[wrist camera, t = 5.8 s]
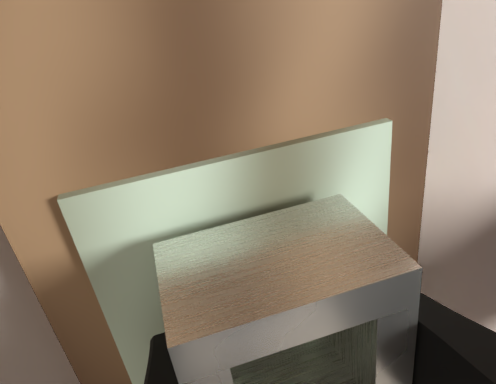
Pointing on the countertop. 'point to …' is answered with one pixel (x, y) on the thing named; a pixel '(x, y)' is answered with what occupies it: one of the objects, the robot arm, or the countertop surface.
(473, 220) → the countertop surface
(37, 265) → the board
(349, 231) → the white square frame
